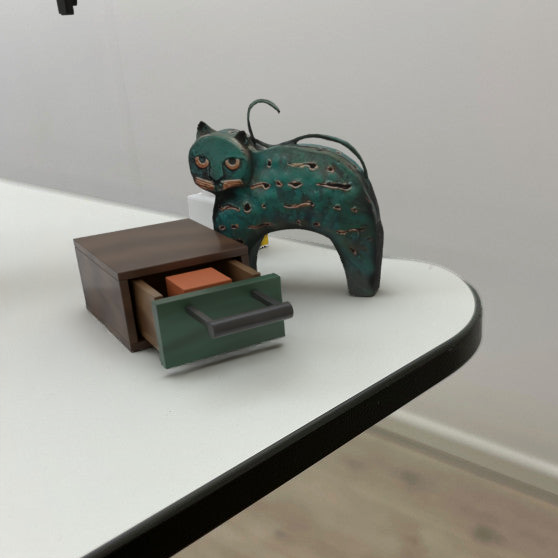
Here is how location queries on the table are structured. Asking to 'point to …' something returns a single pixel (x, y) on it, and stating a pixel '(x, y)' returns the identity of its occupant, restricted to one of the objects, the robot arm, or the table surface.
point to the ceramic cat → (291, 195)
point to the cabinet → (143, 266)
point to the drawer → (209, 313)
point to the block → (195, 281)
